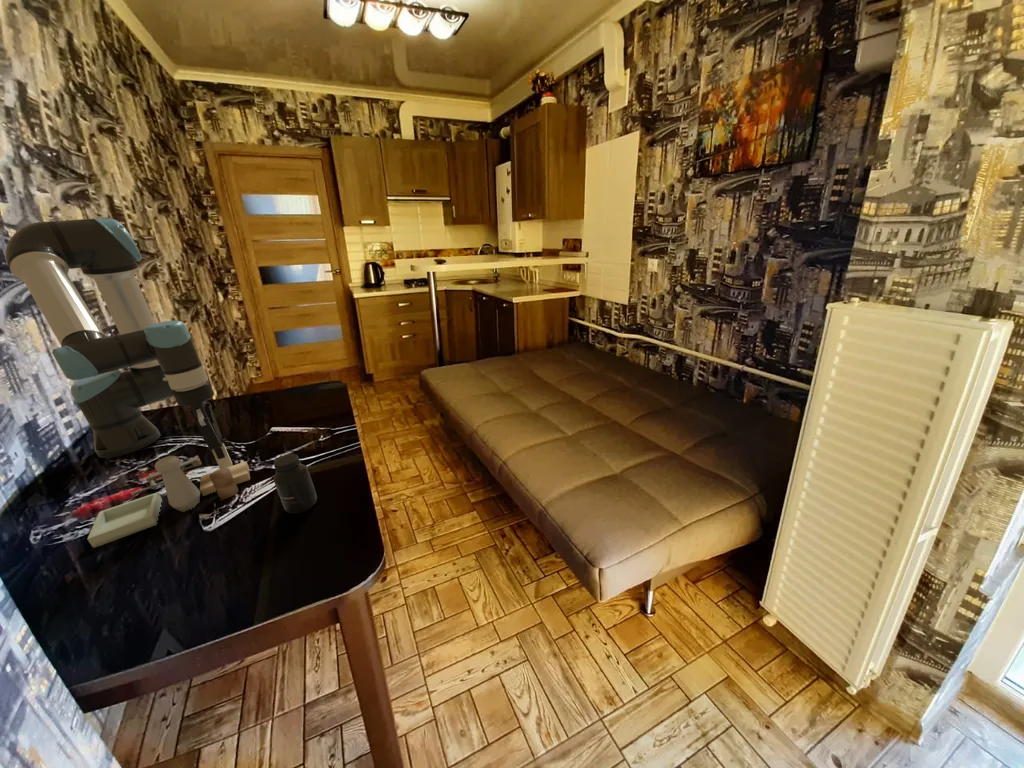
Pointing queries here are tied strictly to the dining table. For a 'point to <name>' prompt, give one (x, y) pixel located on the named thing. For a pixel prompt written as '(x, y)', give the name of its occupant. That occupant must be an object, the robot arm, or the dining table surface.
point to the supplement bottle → (294, 484)
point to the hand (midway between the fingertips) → (226, 466)
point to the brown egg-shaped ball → (224, 483)
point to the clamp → (152, 479)
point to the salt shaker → (177, 484)
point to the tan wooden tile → (238, 473)
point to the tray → (125, 519)
